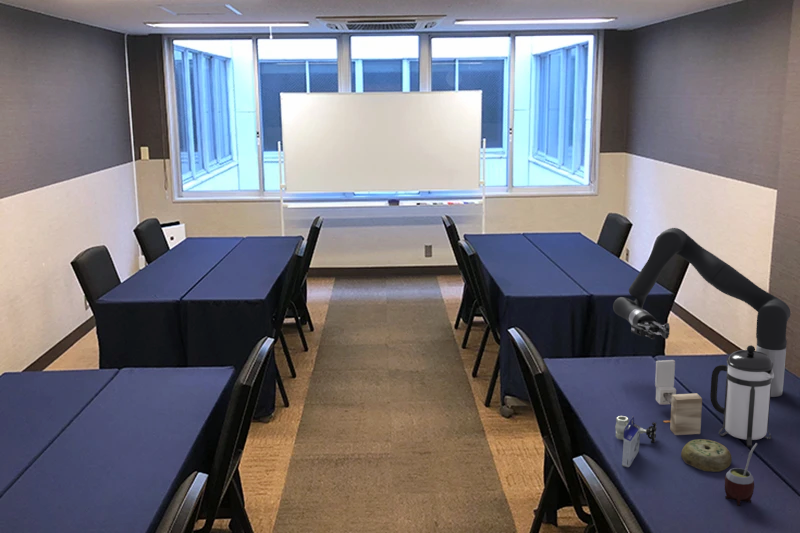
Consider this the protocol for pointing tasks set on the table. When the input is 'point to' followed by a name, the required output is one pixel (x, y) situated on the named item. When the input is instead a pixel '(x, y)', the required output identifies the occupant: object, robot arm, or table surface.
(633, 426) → the ink box
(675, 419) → the rod stand
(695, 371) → the table surface
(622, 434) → the valve
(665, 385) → the white upright panel
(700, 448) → the weight
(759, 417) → the coffee press
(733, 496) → the mate gourd
